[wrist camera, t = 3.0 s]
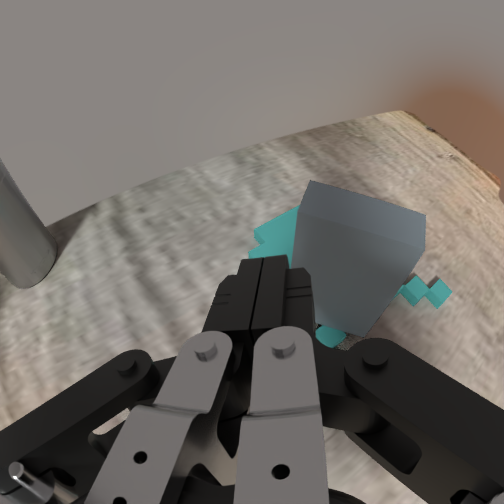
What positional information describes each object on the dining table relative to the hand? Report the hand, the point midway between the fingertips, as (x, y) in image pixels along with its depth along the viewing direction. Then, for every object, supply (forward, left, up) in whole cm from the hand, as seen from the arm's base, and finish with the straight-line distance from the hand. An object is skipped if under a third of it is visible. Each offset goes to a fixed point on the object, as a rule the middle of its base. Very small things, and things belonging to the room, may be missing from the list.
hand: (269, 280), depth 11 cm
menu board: (+3, +9, -18) cm, 21 cm away
